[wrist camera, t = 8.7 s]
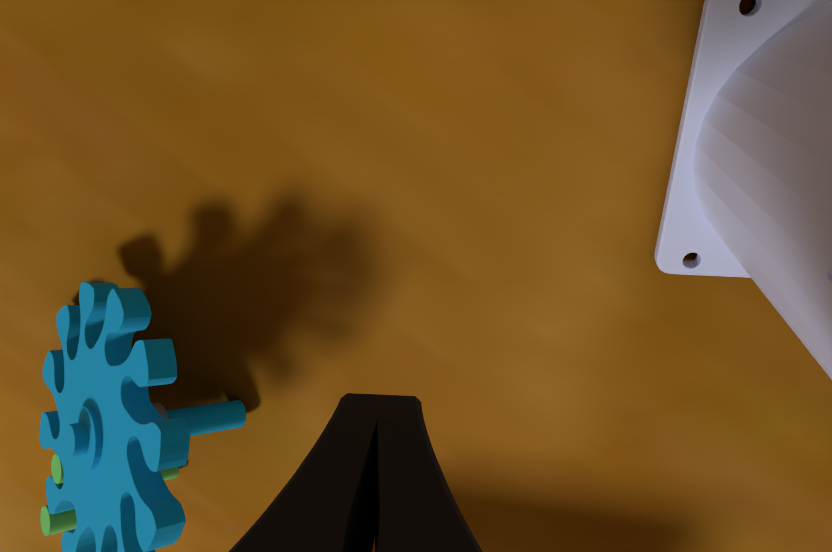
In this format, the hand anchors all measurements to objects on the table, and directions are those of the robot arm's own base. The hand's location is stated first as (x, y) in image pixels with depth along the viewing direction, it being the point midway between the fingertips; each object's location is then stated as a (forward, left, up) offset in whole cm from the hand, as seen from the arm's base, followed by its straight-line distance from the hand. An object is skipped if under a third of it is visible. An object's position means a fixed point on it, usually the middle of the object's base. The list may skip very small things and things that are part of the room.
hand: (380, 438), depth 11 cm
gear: (+10, +6, -10) cm, 16 cm away
